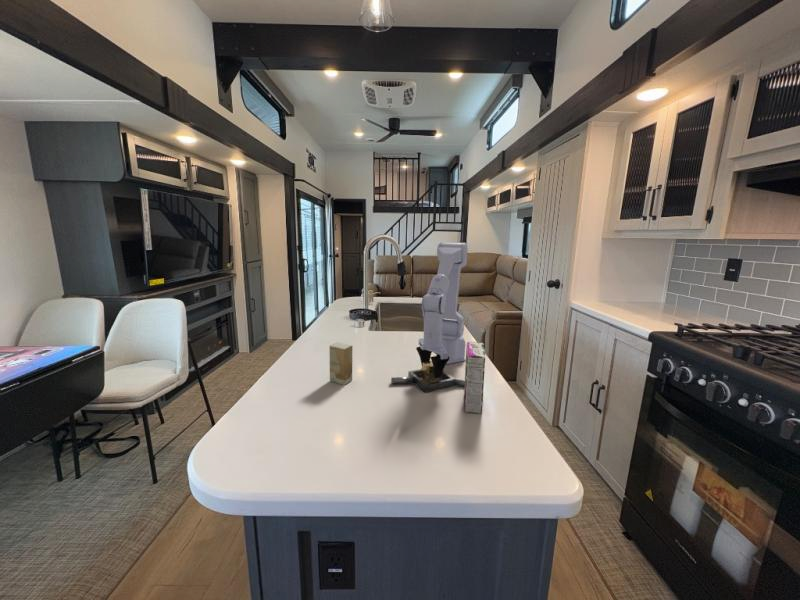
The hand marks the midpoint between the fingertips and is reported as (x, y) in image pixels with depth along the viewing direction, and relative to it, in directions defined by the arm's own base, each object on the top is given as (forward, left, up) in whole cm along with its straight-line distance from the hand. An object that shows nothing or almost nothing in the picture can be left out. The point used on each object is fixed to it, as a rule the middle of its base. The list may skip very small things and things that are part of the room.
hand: (431, 372), depth 103 cm
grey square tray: (0, 0, -3) cm, 3 cm away
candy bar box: (-4, +16, -4) cm, 17 cm away
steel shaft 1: (+9, -3, -3) cm, 10 cm away
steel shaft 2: (-8, +7, -3) cm, 11 cm away
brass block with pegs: (0, 0, -3) cm, 3 cm away
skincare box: (+26, -13, -4) cm, 29 cm away
